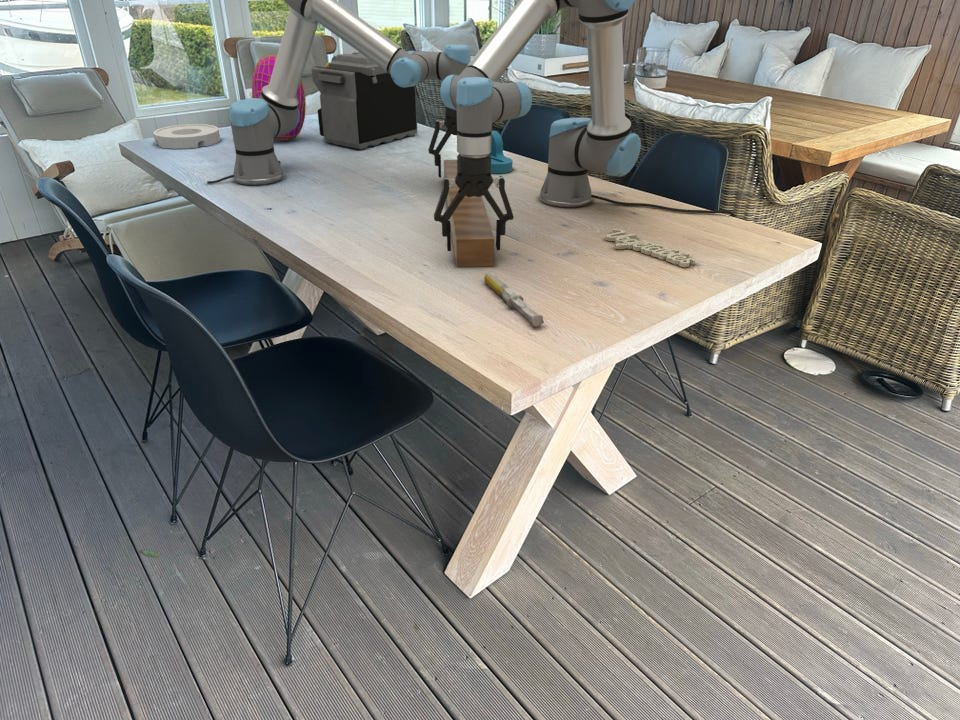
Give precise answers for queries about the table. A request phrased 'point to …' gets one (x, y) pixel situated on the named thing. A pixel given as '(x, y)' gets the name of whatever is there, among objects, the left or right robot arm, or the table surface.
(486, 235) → the wide beam
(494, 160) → the camera mount
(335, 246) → the table surface
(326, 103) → the cooler box
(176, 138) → the beige round base
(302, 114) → the decorative egg
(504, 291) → the syringe
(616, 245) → the decorative sign
